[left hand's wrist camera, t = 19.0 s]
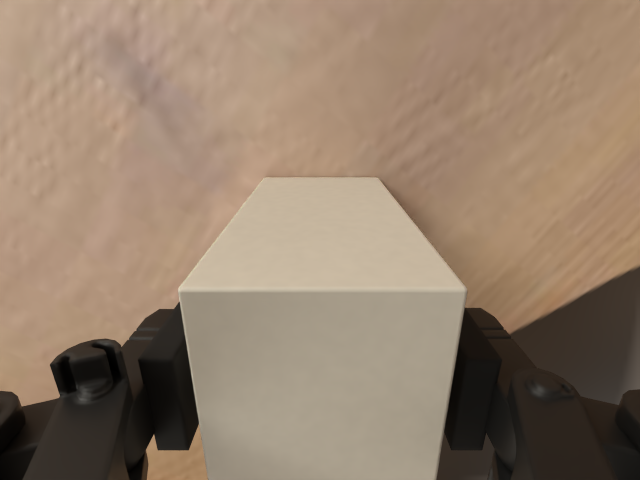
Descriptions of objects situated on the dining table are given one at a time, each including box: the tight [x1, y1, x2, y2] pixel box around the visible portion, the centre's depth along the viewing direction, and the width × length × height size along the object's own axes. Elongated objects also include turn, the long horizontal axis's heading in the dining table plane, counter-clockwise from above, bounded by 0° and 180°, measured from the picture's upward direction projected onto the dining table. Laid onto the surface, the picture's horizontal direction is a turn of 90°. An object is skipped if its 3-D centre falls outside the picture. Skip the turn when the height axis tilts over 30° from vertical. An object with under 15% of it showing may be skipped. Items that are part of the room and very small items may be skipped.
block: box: [178, 177, 467, 480], centre depth 12 cm, size 7×5×11 cm
